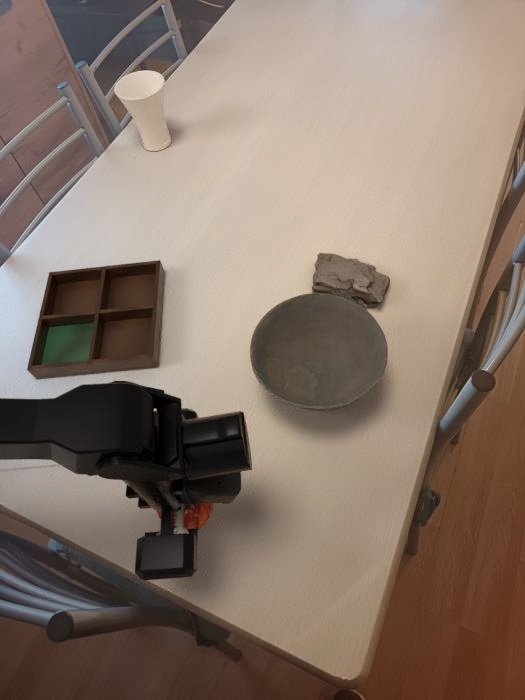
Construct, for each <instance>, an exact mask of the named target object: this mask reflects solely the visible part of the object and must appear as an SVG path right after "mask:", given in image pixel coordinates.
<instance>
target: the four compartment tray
mask: <svg viewBox="0 0 525 700" xmlns="http://www.w3.org/2000/svg"><path fill="white" fill-rule="evenodd" d="M165 275H166V271H165V269H164V266H163V264H162V261H161V259H158V260H150V261H142V262H141V261H140V262H132V263H131V262H130V263H122V264H121V263H120V264H113V265H112V264H111V265H104V266H95V267H86V268H84V267H83V268H76V269H68V270H57V271H49V272H48V276H47V279H46V280H47V281H46V285H45V289H44V294H43V298H42V302H41V306H40V311H39V315H38V319H37V324H36V327H35V332H34V337H33V340H32V341H33V342H32V346H31V350H30V354H29V358H28V362H27V367H26V371H27V372H28V373H29V374H30V375H31V376H32V377H33V378H35V380H42V379H52V378H61V377H64V378H65V377H73V376H74V377H75V376H82V375H83V376H85V375H93V374H105V373H114V372H123V371H125V372H126V371H134V370H145V369H156V368H159V367H160V366H159V365H160V352H161V351H160V350H161V338H162V337H161V335H162V334H161V333H162V322H163V318H162V317H163V307H164V306H163V305H164V291H165Z"/></svg>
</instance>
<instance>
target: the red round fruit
mask: <svg viewBox="0 0 525 700" xmlns="http://www.w3.org/2000/svg"><path fill="white" fill-rule="evenodd" d="M213 507H214V503H201V504H195V509H189V510H184V528H186V529H198V531H199V530H200V529H202V528H203V527H204V526H205V525H206V524H207V523H208V521H209V519H210V516H211V514H212V512H213ZM155 511H156V513H157V517H158V519H160V520H161V511H157V510H155ZM174 513H176V512H175V511H174ZM175 516H176V515H174V517H175ZM175 520H177V519H175V518H174V521H175ZM174 524H176V523H175V522H174V523H173V528H175V527H176V526H174Z"/></svg>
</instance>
